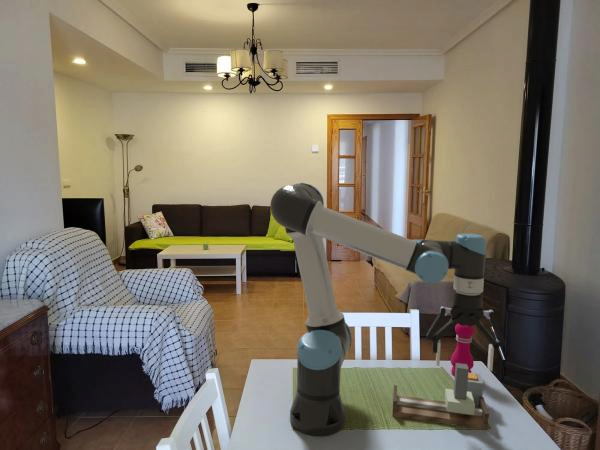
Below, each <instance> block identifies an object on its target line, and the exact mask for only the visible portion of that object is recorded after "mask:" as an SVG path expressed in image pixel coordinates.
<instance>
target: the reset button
mask: <svg viewBox="0 0 600 450" xmlns="http://www.w3.org/2000/svg"><path fill="white" fill-rule="evenodd" d="M472 373H473V372H471V373H468V380H473V381H477V376H476V374H472Z"/></svg>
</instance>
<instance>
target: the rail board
mask: <svg viewBox="0 0 600 450" xmlns="http://www.w3.org/2000/svg"><path fill="white" fill-rule="evenodd" d="M392 393H393V394H392V396H393V398H392V415H391V416H392V417H397V418H402V419H403V418H404V419H413V420H417V421H418V420H419V421H424V422H425V421H426V422H431V423H432V422H433V423H440V424H447V425H452V426H453V425H454V426H459V427H467V428H474V429H480V430H481V429H482V430H488V429H489V423H490V422H489V420H490V419H489V418H490V412H489V409H488V406H487V404H486V401H485V398H484V396H479V406H475V412H474V415H469V414H461V413H454V412H447V408H446V403H445V400H444V401H443V400H436V399H430V398H429V399H428V398H422V397H414V396H407V395H399V394H398V385H396V384H394V385H393V392H392Z"/></svg>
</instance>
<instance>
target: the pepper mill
mask: <svg viewBox="0 0 600 450" xmlns="http://www.w3.org/2000/svg"><path fill="white" fill-rule="evenodd" d="M454 332H455V333H456V337H455V340H456V342H457V343H456V348H455V350H454V351H453V353H452V355H451V358H450V364H451V366H452V367H451V375H452V376H454V377H455V367H456V363H460V364H467V366H468V369H469V371H468V372H469V373H472V369H473V367H474V365H475V364H474V363H475V361H474V358H473V355H472V353H471V349H470V348H471V347H470V346H471V343H472V341H473V335H474V334H475V327H474V326H467V325H465V326H461V325H460V324H457V325H456V326H455V327H454Z"/></svg>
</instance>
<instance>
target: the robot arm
mask: <svg viewBox="0 0 600 450" xmlns="http://www.w3.org/2000/svg"><path fill="white" fill-rule="evenodd" d="M323 197H324V196H323V194H322V193H321V192H320V190H319V189H318V188H317V187H315V186H313V185H312V184H309V183H306V182H299V183H295V184H289V185H284V186H281V187H280V188H279V189H278V190H276V191H275V193H274V194H273V195H272V198H271V200H270V206H269V207H270V213H271V216H272V217H273V219H274V220H275V222H276V223H277V224H279V226H282V227H283V228H285V229H284V231H285V233H286V235H288V236H289V237H291V239H292V240H293V246H294V247H293V248H294V250H295V255H296V259H297V265H298V269H299V270H298V271H299V274H300V278H301V283H302V288H303V293H304V298H305V303H306V307H307V311H308V317H307V319H306V320H305V325H306V331H307V332H306V333H304V334H302V335H301V337H300V338H299V340H298V343H297V349H296V351H297V352H296V355H297V363H296V364H297V367H296V368H297V371H296V372H297V374H296V376H297V377H296V379H297V380H296V393H295V396H294V398H293V402H292V404H291V407H290V411H289V421H290V424H291V425H292V427H294V429H296V430H297V431H299V432H301V433H303V434H306V435H309V436H316V437H317V436H318V437H319V436H320V437H322V436H328V435H334V434H335V433H338V432H340V431H341V430H342V429H343V428H344V426H345V424H346V411H345V406H344V403H343V400H342V396H341V394H340V393H341V389H340V388H341V371H342V370H341V369H342V366H343V365H344V361H345V359H346V357H347V355H348V353H349V351H350V348H351V345H352V339H353V337H352V331H351V329H350V326H349V325H348V323H347V322H346V320H345V314H344V313H343V312H342V311H340V310H338V305H337V301H336V296H335V291H334V287H333V282H332V278H331V277H332V276H331V273H330V269H329V263H328V258H327V254H326V250H325V249H326V248H325V244H324V239H325V240H328V241H331V242H333V243H336V244H338V245H341V246H343V247H345V248H348V249H351V250H353V251H356V252H358V253H361V254H364V255H366V256H369V257H371V258H374V259H376V260H379V261H381V262H383V263H386V264H389V265H390V266H391V265H392V266H395V267H396V268H399V269H402V270H404V271H407V272H409V273H412V274H414V275H416V276H417V277H418V278H419V279H420V280H421V281H422V282H424V283H427V284H436V283H439V282H440V283H441V281H442V280H444V279H445V278H446V276H447V275H448V271H449V270H454V272H453V286H452V287H453V292H452V305H451V307H447V306H445V305H440V307H439V313H438V314H437V316H436V317H435V319H434V320H433V322H432V324H431V325H430V327H429V329H428V330H427V332H426V339H427V340H428V341H429V340H431V341H432V352H433V353H435V363H436V366H438V367H439V366H440V363H441V362H440V361H441V360H440V359H441V346H442V345H441V339H442V338H443V337H445V336H446V335H447V334H448V333H449V331H451V330H452V329H453V328H455V326H456V325H457V324H460V325H461V326H465V325H467V326H473V327H474V326H476V327H477V328H478V329H479V331H480V332H481V334H483V336H485V338H486V339H487V340H488V341H489V342H490V343H489V344H488V354H487V369H488V371H489V372H493V369H494V368H493V364H494V360H495V359H498V354H499V353H498V352H499V349H500V347H505V346H507V344H506V341H505V339H504V337H503V334H502V332H501V330H500V328H499V326H498V323H497V322H496V315H495V312H494V310H493V309H491V308H489V309H488V310H483V301H484V300H483V299H484V298H483V297H484V294H483V292H484V285H485V283H484V281H485V271H486V270H485V269H486V268H485V267H486V259H487V258H486V256H487V248H486V247H487V239H486V237H484V236H483V235H481V234H477V233H476V234H475V233H458V234H457V235H456V236H455V237H456V238H455V240H450V241H448V240H437V239H436V240H434V239H426V238H422V239H411V238H410V239H409V238H407V237H404V236H403V235H400V234H397V233H394V232H391V231H389V230H386V229H384V228H381V227H378V226H375V225H373V224H372V223H371V224H370V223H367V222H365V221H363V220H359V219H357V218H354V217H352V216H349V215H347V214H344V213H341V212H339V211H336V210H333V209H331V208H328V207H326V206H324V205H325V202H324V198H323ZM448 314H451V317H450V319H449V321H447V322H446V323H445V324H444V325H443V326H442V327H441V328H440V329H439V330H438V328H439V326H440V325H441V324H442V321H443V320H444V318H445V317H446V316H448ZM484 316H485V317H486V319H487V320H489V322H490V325H491V327H492V329H493V331H494V333H495V335H496V338H497V339H496V338H494V336H493V335H492V334H491V333H490V332H489V330H488V329H487V327H485V326H484V324H483V323H482V322H481V319H482V318H483V317H484ZM437 330H438V331H437Z"/></svg>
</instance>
